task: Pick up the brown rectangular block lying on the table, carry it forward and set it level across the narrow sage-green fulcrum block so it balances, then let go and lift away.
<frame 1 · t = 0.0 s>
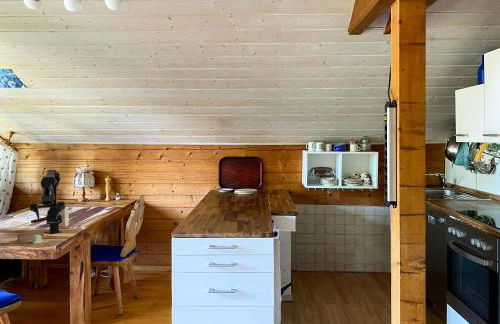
hand: (47, 219, 238), 15 cm above the table, tool tilted 35°, fingers open, 9 cm apart
supplement box: (62, 226, 288), on the table
fulcrum: (37, 241, 245), on the table
brown rectangular block: (31, 239, 252), on the table
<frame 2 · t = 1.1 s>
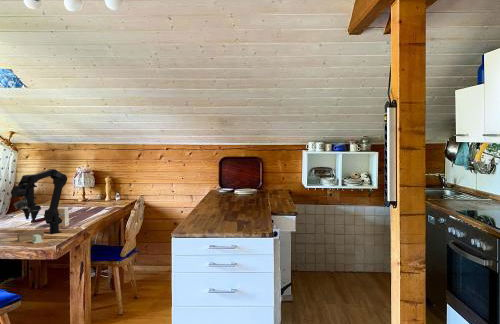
hand: (30, 220, 251), 12 cm above the table, tool pointing down, fingers open, 9 cm apart
nothing on the table moved.
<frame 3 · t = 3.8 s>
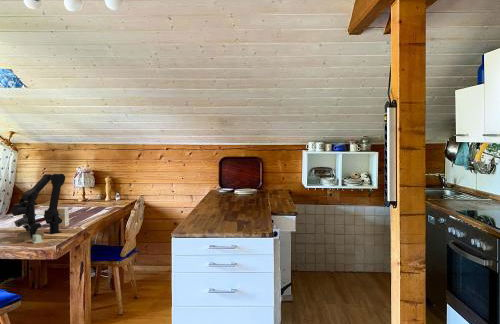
hand: (30, 237, 251), 1 cm above the table, tool pointing down, fingers closed on brown rectangular block, 4 cm apart
brown rectangular block: (30, 239, 252), on the table, touching gripper
everything else where it was.
when the fingers open (5 cm above the table, at t = 7.5 s): brown rectangular block stays where it is, resting on fulcrum.
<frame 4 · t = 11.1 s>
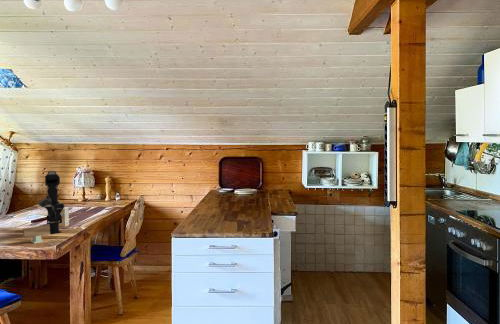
hand: (53, 218, 256), 12 cm above the table, tool pointing down, fingers open, 9 cm apart
brown rectangular block: (36, 235, 245), point 4 cm above the table, touching fulcrum
everything else where it was.
at the end: brown rectangular block 0.0 cm off-centre on the fulcrum, point 4.0 cm above the fulcrum's base; brown rectangular block tilted 0°; brown rectangular block touching fulcrum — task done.
